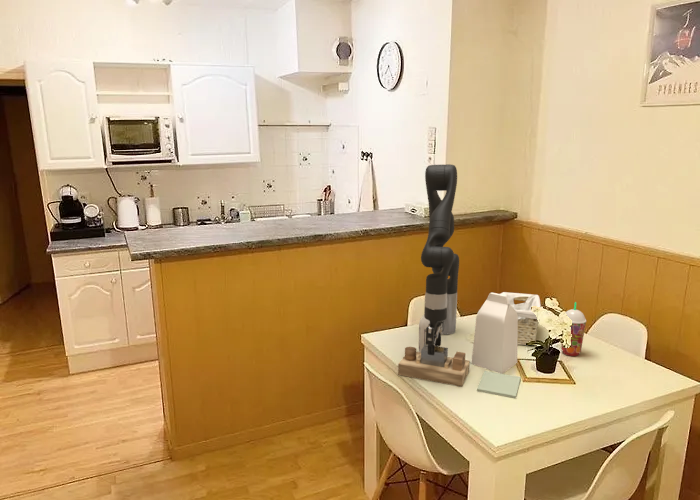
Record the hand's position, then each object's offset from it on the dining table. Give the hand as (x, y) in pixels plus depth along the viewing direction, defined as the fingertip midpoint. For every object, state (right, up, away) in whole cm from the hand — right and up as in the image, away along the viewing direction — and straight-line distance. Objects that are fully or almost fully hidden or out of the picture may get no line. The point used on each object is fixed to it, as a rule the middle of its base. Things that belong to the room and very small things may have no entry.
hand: (434, 350), depth 177 cm
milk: (+23, -7, +9) cm, 26 cm away
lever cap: (0, -4, +1) cm, 5 cm away
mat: (+20, -10, -7) cm, 24 cm away
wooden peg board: (0, -8, +2) cm, 9 cm away
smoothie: (+54, -5, +17) cm, 57 cm away
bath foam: (0, -5, +17) cm, 18 cm away
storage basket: (+40, -1, +35) cm, 53 cm away
